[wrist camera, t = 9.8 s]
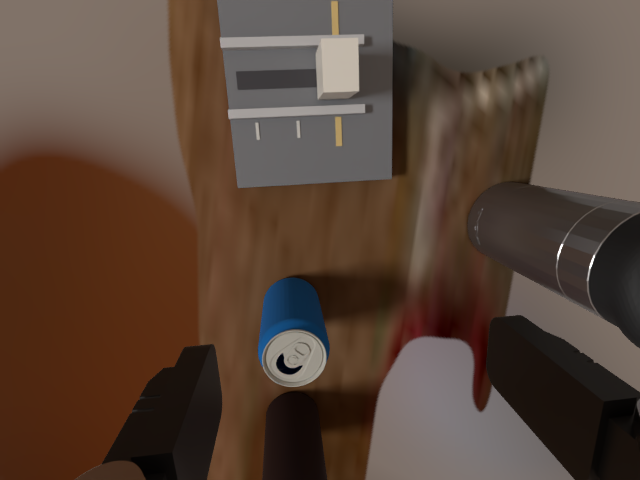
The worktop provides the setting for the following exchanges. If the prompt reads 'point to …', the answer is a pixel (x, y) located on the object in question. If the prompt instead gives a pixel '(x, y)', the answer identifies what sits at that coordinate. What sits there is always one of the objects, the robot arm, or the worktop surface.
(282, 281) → the beverage can
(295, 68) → the fader console
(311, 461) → the bottle
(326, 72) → the fader tab
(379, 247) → the worktop surface
